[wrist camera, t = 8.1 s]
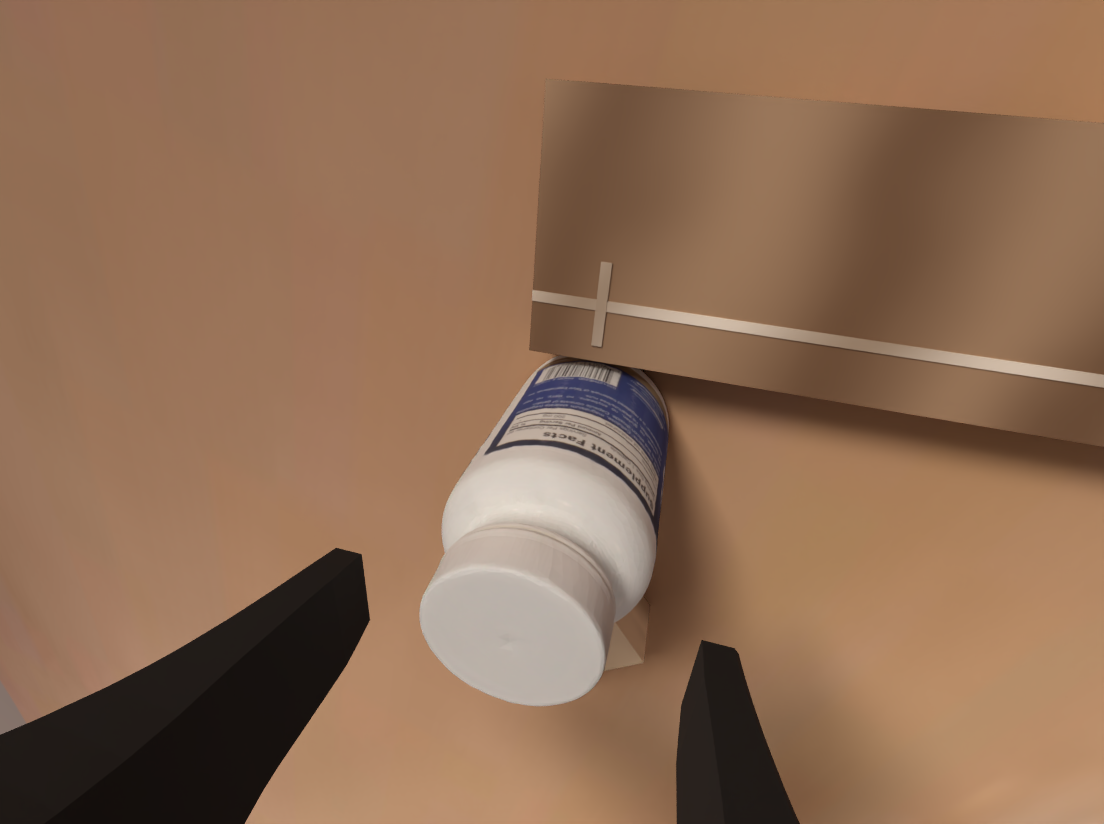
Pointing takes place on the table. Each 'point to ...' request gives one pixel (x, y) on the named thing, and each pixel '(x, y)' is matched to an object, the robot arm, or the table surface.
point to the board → (828, 251)
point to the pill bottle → (551, 534)
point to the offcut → (629, 638)
